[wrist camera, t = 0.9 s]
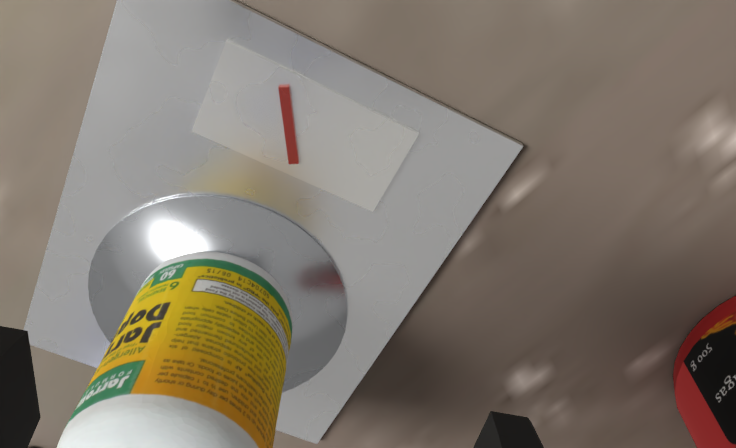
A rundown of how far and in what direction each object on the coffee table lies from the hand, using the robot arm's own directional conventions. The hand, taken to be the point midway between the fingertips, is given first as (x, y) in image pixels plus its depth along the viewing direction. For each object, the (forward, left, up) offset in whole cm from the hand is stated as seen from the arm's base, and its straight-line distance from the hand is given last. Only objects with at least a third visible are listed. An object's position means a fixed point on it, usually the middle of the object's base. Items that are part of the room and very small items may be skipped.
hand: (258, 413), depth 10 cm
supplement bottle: (-7, 0, -11) cm, 13 cm away
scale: (-5, 0, -11) cm, 12 cm away
